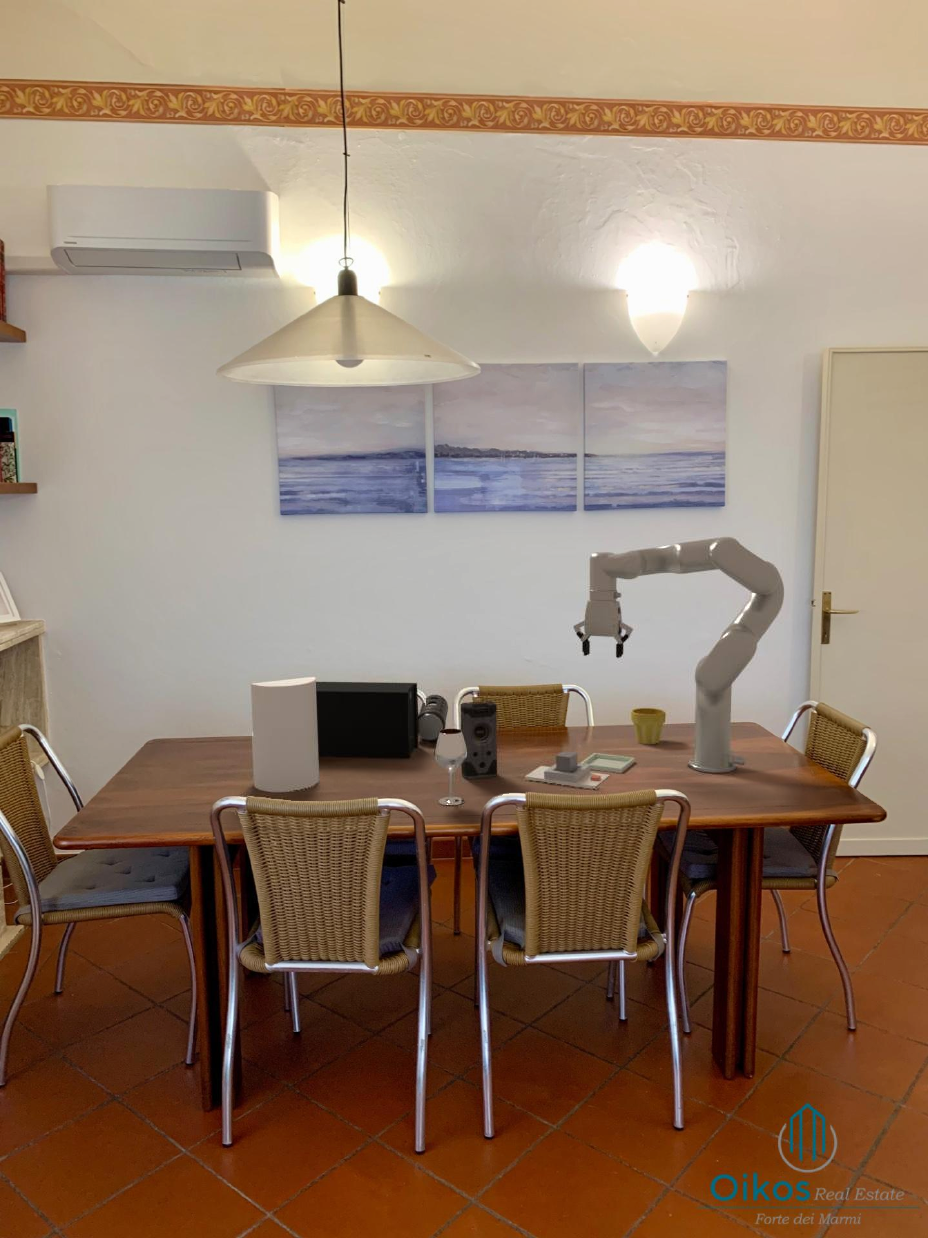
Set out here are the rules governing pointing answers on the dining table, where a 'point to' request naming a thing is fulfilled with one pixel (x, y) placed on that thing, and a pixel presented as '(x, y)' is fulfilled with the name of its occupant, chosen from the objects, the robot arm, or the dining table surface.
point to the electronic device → (479, 739)
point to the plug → (566, 762)
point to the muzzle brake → (432, 717)
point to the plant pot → (648, 724)
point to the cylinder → (285, 734)
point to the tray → (608, 762)
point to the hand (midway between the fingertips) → (602, 656)
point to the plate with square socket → (568, 776)
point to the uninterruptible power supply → (367, 719)
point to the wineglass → (450, 757)
